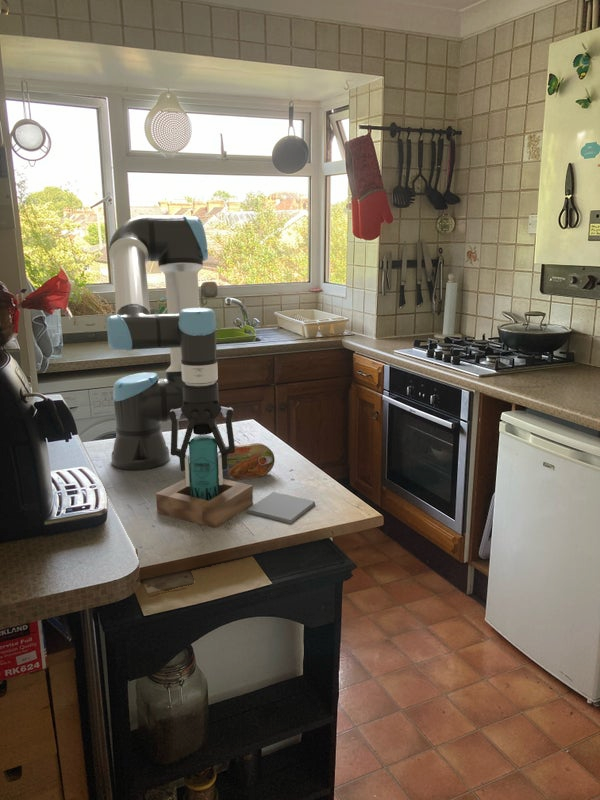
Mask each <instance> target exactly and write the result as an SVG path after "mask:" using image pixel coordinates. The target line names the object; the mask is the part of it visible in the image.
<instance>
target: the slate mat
mask: <svg viewBox="0 0 600 800" xmlns="http://www.w3.org/2000/svg"><path fill="white" fill-rule="evenodd" d="M315 505H316V500H311V499H308V498H307V499H306V498H302V497H298V496H295V495H288V494H286V493H285V494H284V493H281V492H275V491H272V492H270V494H268V495H267V496H265V497H264V498H262V499H260V500H259V501H258V502H256V503H253V504H252V505H251V506H249V507H248V508H246V510H247V514H252V515H255V516H258V517H264V518H266V519H271V520H276V521H280V522H283V523H288V524H292V523H293V522H295V521H296V520H297V519H299V517H301V516H302V515H303V514H305V513H306V512H307V511H308V510H310V509H311V508H312V507H314V506H315Z"/></svg>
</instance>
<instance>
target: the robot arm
mask: <svg viewBox="0 0 600 800" xmlns="http://www.w3.org/2000/svg"><path fill="white" fill-rule="evenodd" d="M108 255H109V260H110V262H111V263H112V265H113V271H114V273H113V274H114V275H113V276H114V295H115V297H114V298H115V300H114V301H115V315H109V316H108V317H107V318H106V330H107V331H106V332H107V341H108V342H107V343H108V346H109V348H110V349H111V350H116V351H118V350H123V351H124V350H125V351H132V350H133V351H134V350H148V349H149V350H150V349H168V348H169V352H170V354H169V356H170V365H169V367H167V369H166V370H165V377H162V378H160V377H159V375H158V374H157V373H156V372H148V371H147V372H139V373H134V374H130V375H127V376H123V377H120V378H119V379H117V380H116V381H115V382H114V383H113V387H112V388H113V390H112V391H113V393H112V394H113V397H112V401H113V404H114V405H113V407H114V417H115V431H116V432H115V433H116V434H115V435H116V436H115V439H114V442H113V443H114V444H113V449H112V452H111V465H113V466H114V467H115V468H118V469H122V470H126V471H127V470H128V471H131V470H132V471H136V470H137V471H138V470H139V471H140V470H148V469H152V468H153V469H154V468H157V467H161V466H163V465H164V464H166V463H168V461H170V456H176V457H178V458H179V469H180V471H181V472H185V478H186V486H190V458H189V453H187V450H188V448H189V442H190V441H191V439H192V437H191V436H192V434H193V428H194V425H200V424H207V425H209V427H210V429H211V431H212V433H211V434H212V435H213V438H214V439H215V440H216V443H217V449H218V450H219V451H220V453H218V469H219V475H218V478H219V485H223V479H224V478H223V474H222V469H227V455H228V454H230V453H234V452H235V446H236V443H235V438H234V437H235V436H234V430H233V429H234V428H233V420H232V418H233V414H234V408H233V407H232V406H229V407H225V406H222V404H221V403H220V400H219V398H220V397H219V383H218V382H217V381H218V379H219V376H218V375H219V373H218V372H219V370H218V357H217V356H218V355H217V351H218V350H217V328H218V327H217V326H218V324H217V320H216V312H215V310H213V309H212V308H208V307H200V306H201V305H200V293H199V291H200V290H199V289H200V287H199V278H198V277H199V272H200V271H201V270H202V269H203V267H204V263H203V262H205V261H207V260H208V259H209V252H208V242H207V236H206V231H205V227H204V225H203V222H202V220H201V218H200V217H198V216H195V215H194V216H193V215H184V214H181V215H180V214H179V215H138V216H135V217H132V218H130V219H127V220H126V221H125V222H123V223H122V224H121V225H120V226H119V227H118V228H117V229H116V230H115V232H114V233H113V235H112V237H111V238H110V241H109V247H108ZM147 262H158V269H159V270H160V271H161V272H162V273H163V274H164V276H165V279H164V280H165V293H166V294H165V296H166V308H167V313H151V308H150V305H151V304H150V298H149V287H148V278H147V277H148V276H147V268H146V264H147ZM220 413H221V414H222V417H223V418H225V427H226V434H227V435H226V436H227V442H228V445H227V446H228V447H227V446H226V445H225V442H224V439H223V436H222V434H221V432H220V430H219V426H218V424H217V421H216V419H217V417H218V415H220ZM180 421H188V425H187V428H186V431H185V434H184V438H183V441H182V443H181V448H178V441H179V440H178V439H179V435H178V434H179V422H180ZM162 422H163V423H165V422H171V430H170V431H171V433H170V450H169V448H168V446H167V445H166V444H167V443H166V440H165V436H164V434H163V433H162Z"/></svg>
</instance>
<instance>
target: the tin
mask: <svg viewBox="0 0 600 800" xmlns="http://www.w3.org/2000/svg"><path fill="white" fill-rule="evenodd" d="M228 446H229V445H227V446H226V447H228ZM218 453H220V450H219V451H218ZM275 462H276V461H275V453H273V451H272V450H271V448H270V447H268V446H267V445H266V444H263V443H258V442H255V443H246V444H239V445H238V444H237V445H236V444H235V452H234V453H230V454H228V455H227V469H222V474H223V479H226V480H231V481H236V480H243V479H244V480H245V479H251V478H253V479H254V478H261V477H264V476H266V475H268V474H269V473H270V472H271V471H272V470H273V467H275V466H274V465H275ZM218 472H219V469H218ZM218 476H219V473H218Z"/></svg>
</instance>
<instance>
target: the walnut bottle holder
mask: <svg viewBox="0 0 600 800" xmlns="http://www.w3.org/2000/svg"><path fill="white" fill-rule="evenodd" d="M218 479H219V477H218ZM253 487H254V486H253V485H252V484H248V483H244V482H240V481H236V480H226V479H224V478H223V485H219V491H220V493H219V495H218V496H216V497H214V498H213V499H211V500H209V501H208V500H204V499H200V498H196V497H192V496H190V495H191V489H190V486H186V477H185V478H183V479H181V480H180V481H178V482H176V483H173V484H172V485H169V486H168V487H166V488H164V489H161V490H160V491H158V492H155V498H156V499H155V500H156V512H157V513H158V514H162V515H165V516H169V517H172V518H177V519H181V520H183V521H187V522H192V523H195V524H198V525H203V526H205V527H209V528H213V529H217V528H219V527H220V526H222V525H223V524H225V523H227V521H229V520H231V519H232V518H233V517H235V516H237V515H238V514H240V513H241V512H243V511H244V510H247V509H248V508H250V507H251V506H253V505H254V502H253V500H254V496H253V495H254V492H253Z"/></svg>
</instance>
